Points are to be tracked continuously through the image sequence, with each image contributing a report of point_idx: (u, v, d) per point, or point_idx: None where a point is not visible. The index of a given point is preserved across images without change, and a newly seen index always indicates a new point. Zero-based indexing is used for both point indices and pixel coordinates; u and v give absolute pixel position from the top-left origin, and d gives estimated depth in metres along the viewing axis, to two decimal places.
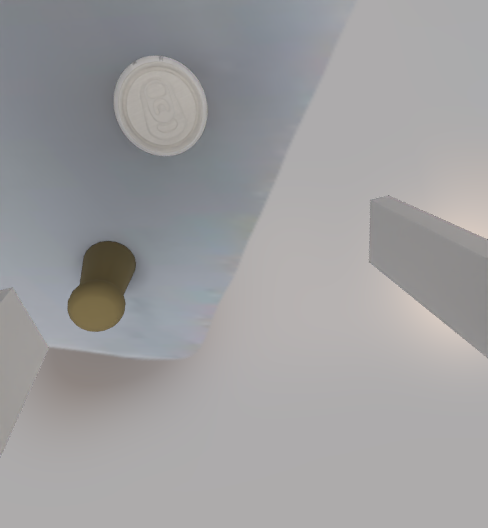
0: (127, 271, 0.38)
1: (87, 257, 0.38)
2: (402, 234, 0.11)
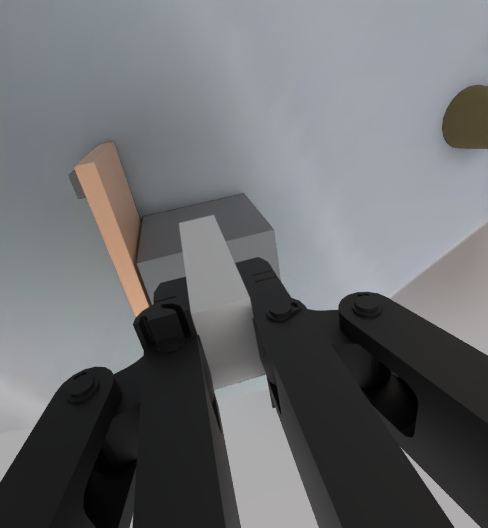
0: None
1: (460, 125, 0.32)
2: None
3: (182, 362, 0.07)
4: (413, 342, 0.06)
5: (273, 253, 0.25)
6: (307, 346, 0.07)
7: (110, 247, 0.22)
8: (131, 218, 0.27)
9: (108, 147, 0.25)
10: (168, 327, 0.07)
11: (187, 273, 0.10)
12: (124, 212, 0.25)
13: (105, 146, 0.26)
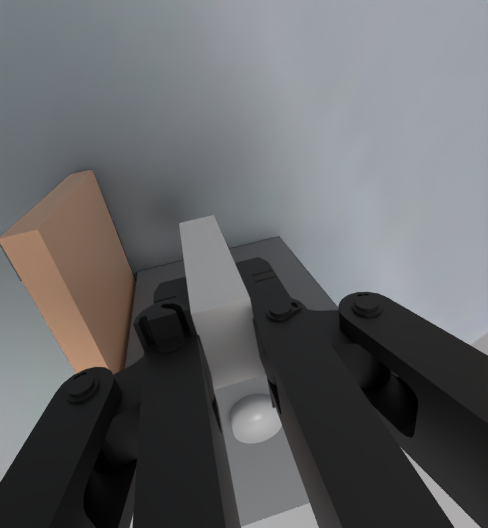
0: None
1: None
2: None
3: (182, 362, 0.07)
4: (413, 342, 0.06)
5: None
6: (307, 346, 0.07)
7: (77, 363, 0.13)
8: (118, 288, 0.18)
9: (80, 183, 0.16)
10: (168, 327, 0.07)
11: (187, 273, 0.10)
12: (105, 288, 0.16)
13: (76, 180, 0.16)
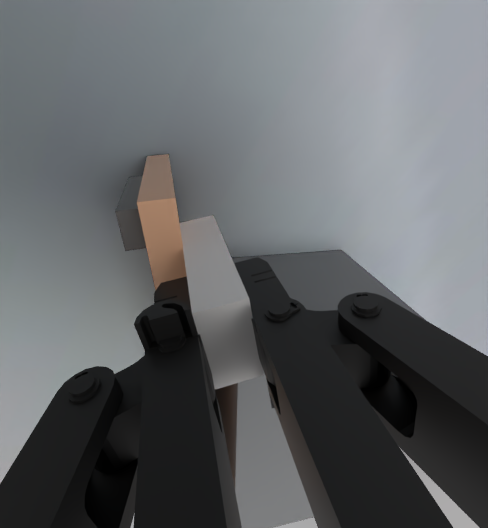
0: None
1: None
2: None
3: (183, 362, 0.07)
4: (412, 342, 0.06)
5: None
6: (306, 346, 0.07)
7: None
8: None
9: None
10: (169, 327, 0.07)
11: (188, 273, 0.10)
12: None
13: (163, 161, 0.17)
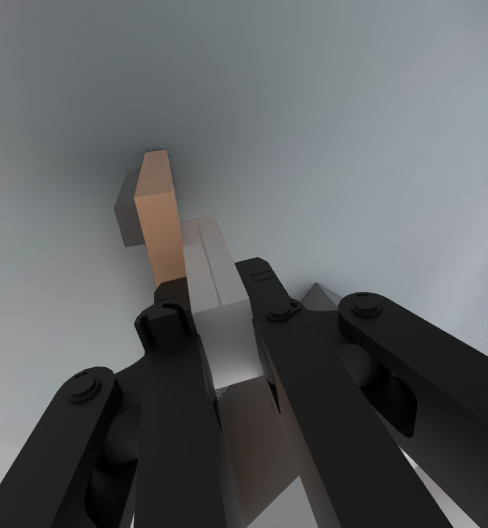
0: None
1: None
2: None
3: (183, 362, 0.07)
4: (412, 342, 0.06)
5: None
6: (306, 346, 0.07)
7: None
8: None
9: (168, 159, 0.16)
10: (169, 327, 0.07)
11: (188, 273, 0.10)
12: None
13: (161, 157, 0.17)
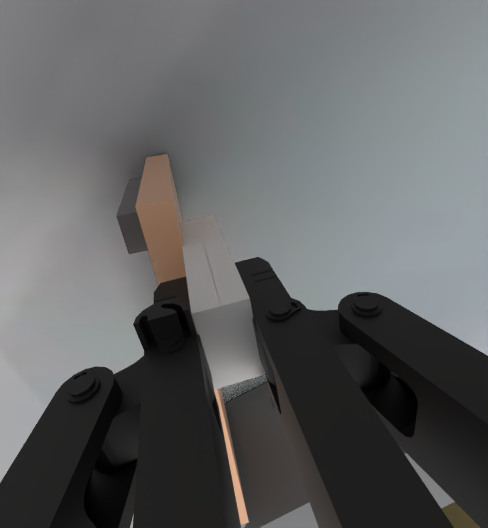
0: None
1: None
2: None
3: (182, 362, 0.07)
4: (413, 342, 0.06)
5: None
6: (307, 346, 0.07)
7: None
8: None
9: (168, 164, 0.16)
10: (168, 327, 0.07)
11: (187, 273, 0.10)
12: None
13: (162, 162, 0.17)
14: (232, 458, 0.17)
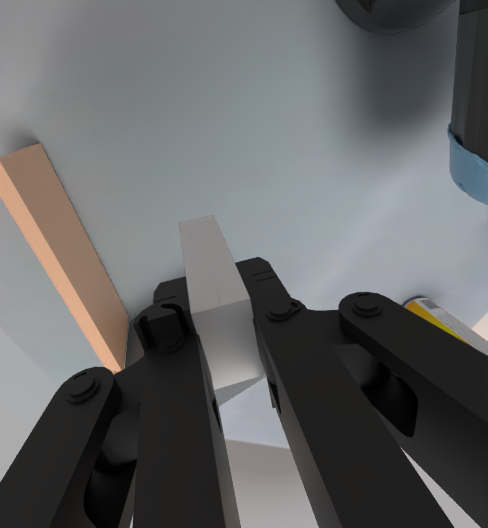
0: None
1: None
2: None
3: (182, 362, 0.07)
4: (413, 342, 0.06)
5: None
6: (307, 346, 0.07)
7: (28, 236, 0.25)
8: (59, 211, 0.30)
9: (29, 148, 0.28)
10: (168, 327, 0.07)
11: (187, 273, 0.10)
12: (46, 205, 0.28)
13: (28, 147, 0.28)
14: (91, 320, 0.29)
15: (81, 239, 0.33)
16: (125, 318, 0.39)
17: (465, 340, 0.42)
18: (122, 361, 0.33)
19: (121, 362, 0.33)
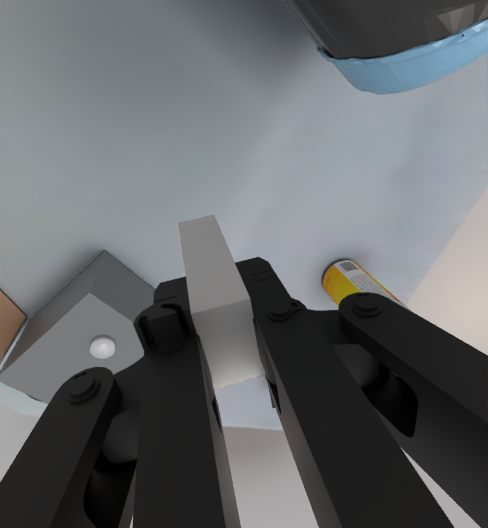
0: None
1: None
2: None
3: (182, 362, 0.07)
4: (413, 342, 0.06)
5: None
6: (307, 346, 0.07)
7: None
8: None
9: None
10: (168, 327, 0.07)
11: (187, 273, 0.10)
12: None
13: None
14: None
15: None
16: (15, 317, 0.40)
17: None
18: None
19: None
